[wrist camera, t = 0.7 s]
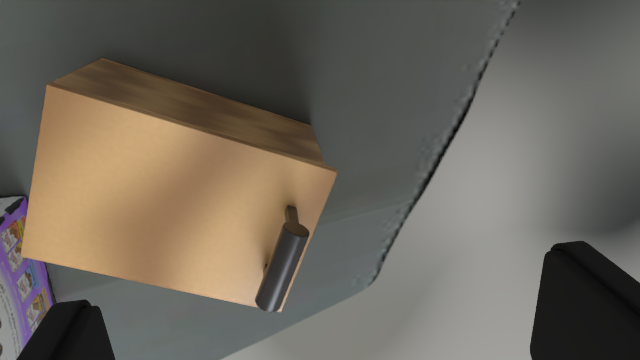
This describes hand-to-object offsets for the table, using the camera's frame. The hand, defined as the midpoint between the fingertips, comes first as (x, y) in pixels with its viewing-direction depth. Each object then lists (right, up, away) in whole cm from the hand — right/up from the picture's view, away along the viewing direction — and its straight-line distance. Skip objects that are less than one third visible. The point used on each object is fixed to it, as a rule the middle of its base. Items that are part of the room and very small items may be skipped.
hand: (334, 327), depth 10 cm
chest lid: (-10, +1, +22) cm, 25 cm away
